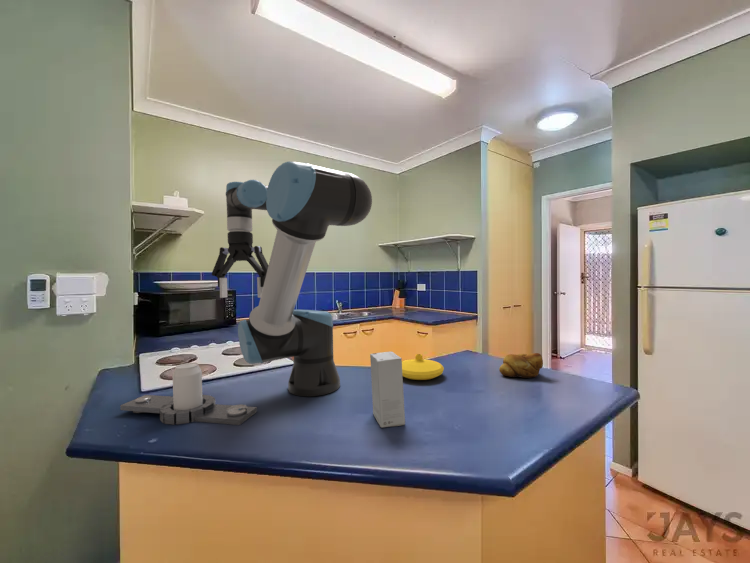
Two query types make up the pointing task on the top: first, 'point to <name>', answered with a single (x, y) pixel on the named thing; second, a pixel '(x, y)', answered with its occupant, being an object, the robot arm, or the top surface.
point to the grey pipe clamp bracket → (190, 410)
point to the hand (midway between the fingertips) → (242, 297)
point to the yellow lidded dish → (421, 368)
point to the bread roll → (521, 365)
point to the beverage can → (187, 386)
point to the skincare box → (387, 389)
